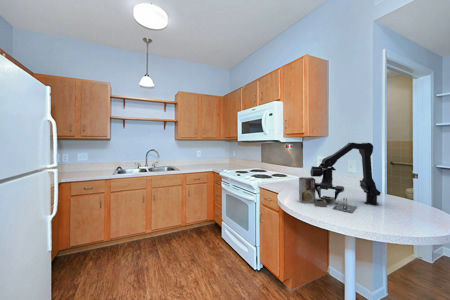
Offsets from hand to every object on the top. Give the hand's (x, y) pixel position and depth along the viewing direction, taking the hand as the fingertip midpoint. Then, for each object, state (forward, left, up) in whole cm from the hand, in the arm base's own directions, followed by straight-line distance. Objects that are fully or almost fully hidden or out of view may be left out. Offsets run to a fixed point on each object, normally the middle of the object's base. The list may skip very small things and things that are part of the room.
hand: (327, 199), depth 129 cm
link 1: (+11, -1, -1) cm, 11 cm away
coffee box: (+9, -10, -2) cm, 14 cm away
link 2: (0, 0, -1) cm, 1 cm away
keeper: (+7, +12, -1) cm, 14 cm away
